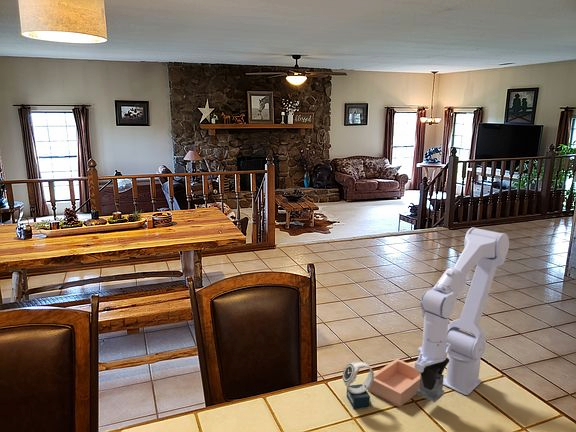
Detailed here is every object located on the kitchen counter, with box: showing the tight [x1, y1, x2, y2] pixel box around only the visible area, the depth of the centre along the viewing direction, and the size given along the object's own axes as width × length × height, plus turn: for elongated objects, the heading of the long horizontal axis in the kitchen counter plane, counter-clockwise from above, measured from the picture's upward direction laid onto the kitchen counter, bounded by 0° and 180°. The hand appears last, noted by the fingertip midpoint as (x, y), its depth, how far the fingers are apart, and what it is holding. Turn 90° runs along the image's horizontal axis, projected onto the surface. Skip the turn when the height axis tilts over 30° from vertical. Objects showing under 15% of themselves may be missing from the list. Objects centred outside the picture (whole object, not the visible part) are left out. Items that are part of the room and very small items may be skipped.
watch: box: [342, 361, 375, 410], centre depth 116 cm, size 6×8×11 cm
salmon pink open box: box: [367, 358, 421, 408], centre depth 123 cm, size 14×10×4 cm
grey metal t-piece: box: [416, 373, 446, 404], centre depth 114 cm, size 5×5×6 cm
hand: (431, 385), depth 114 cm, fingers closed on grey metal t-piece, 2 cm apart
